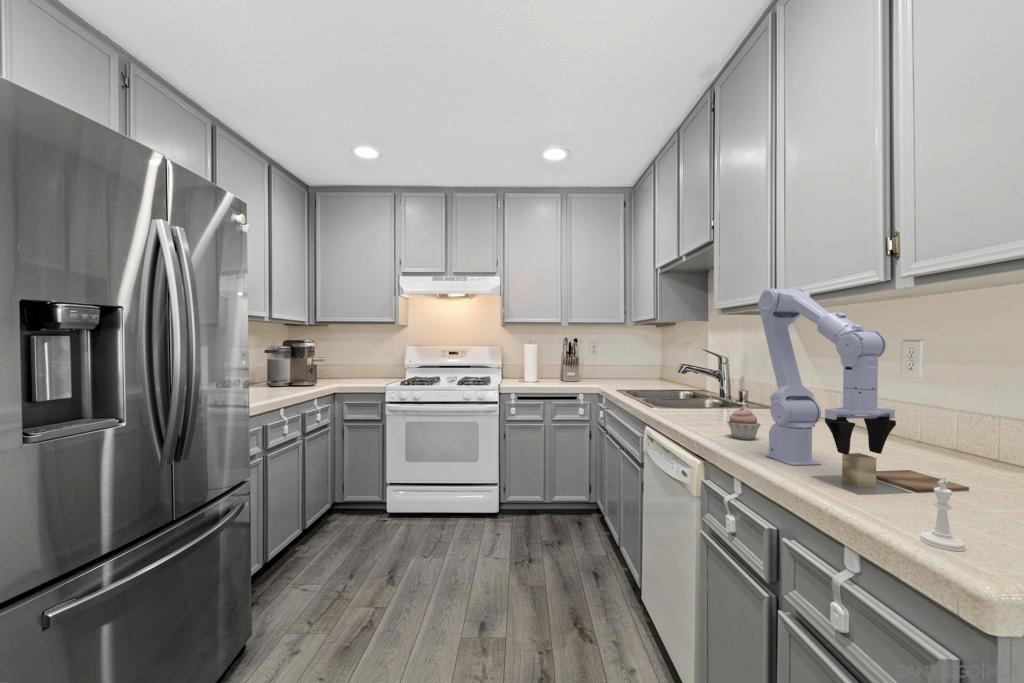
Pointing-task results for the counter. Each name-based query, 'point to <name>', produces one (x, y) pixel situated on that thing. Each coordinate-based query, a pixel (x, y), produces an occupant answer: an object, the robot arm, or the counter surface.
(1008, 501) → the counter surface
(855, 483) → the maple block
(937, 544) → the chess piece
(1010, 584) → the counter surface
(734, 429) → the cupcake
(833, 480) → the tile
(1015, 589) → the counter surface
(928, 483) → the board
